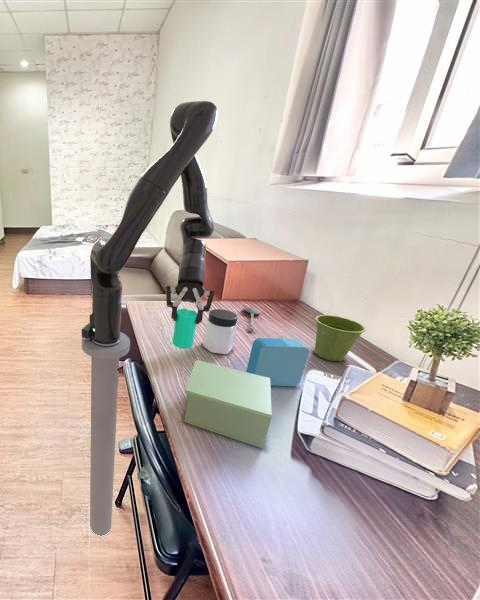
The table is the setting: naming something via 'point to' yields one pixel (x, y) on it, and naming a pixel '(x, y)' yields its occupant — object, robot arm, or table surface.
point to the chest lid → (231, 388)
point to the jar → (220, 331)
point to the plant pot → (336, 336)
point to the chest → (227, 420)
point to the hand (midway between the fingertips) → (186, 321)
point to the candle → (184, 328)
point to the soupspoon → (251, 311)
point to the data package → (278, 360)
